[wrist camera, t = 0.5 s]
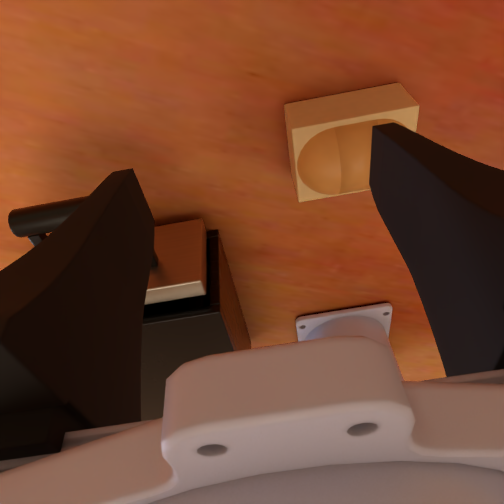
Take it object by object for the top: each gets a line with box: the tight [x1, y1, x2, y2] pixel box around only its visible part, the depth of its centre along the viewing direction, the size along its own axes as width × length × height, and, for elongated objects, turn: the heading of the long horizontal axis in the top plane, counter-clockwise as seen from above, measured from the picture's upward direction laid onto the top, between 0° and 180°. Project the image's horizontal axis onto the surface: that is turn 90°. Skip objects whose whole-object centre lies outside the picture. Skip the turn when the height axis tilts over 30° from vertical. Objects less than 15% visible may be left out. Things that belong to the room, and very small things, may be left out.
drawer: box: [8, 196, 210, 316], centre depth 26 cm, size 17×10×5 cm, turn 9°
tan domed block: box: [284, 83, 419, 202], centre depth 21 cm, size 4×6×4 cm
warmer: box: [141, 230, 251, 421], centre depth 29 cm, size 13×12×7 cm
